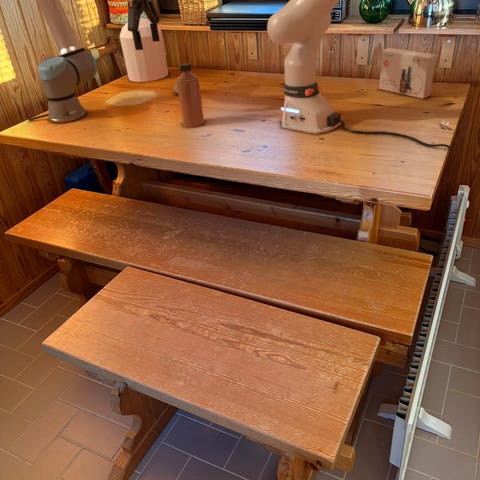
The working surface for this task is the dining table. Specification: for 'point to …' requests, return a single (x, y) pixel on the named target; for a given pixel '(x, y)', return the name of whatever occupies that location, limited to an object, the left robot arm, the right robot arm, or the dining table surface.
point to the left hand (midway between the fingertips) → (148, 45)
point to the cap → (185, 67)
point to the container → (143, 54)
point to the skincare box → (407, 72)
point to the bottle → (190, 99)
